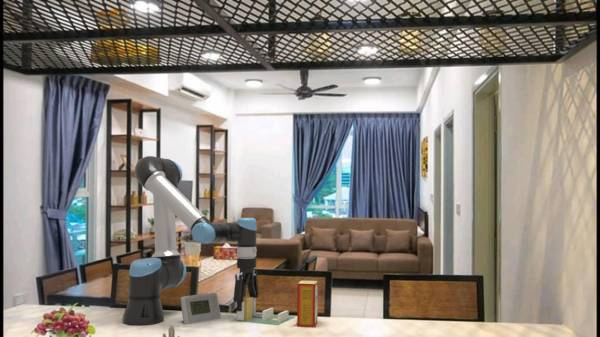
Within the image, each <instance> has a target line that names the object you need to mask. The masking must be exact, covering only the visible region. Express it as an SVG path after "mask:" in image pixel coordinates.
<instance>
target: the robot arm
mask: <svg viewBox="0 0 600 337" xmlns="http://www.w3.org/2000/svg"><path fill="white" fill-rule="evenodd" d="M134 176H135V178H136V181H137V182H138V183H139V184H140V185H141V187H143V188H144V189H145V190H146V191H148V192H149V193H151V194H152V199H153V225H154V226H153V228H154V253H153V254H152V255H151V257H146V258H139V259H135V260H133V261H131V262H130V266H129V270H128V271H129V272H128V274H129V278H128V299H127V300H128V301H127V305H126V306H125V310H124V313H123V315H122V323H123V324H125V325H130V326H131V325H133V326H134V325H135V326H144V325H145V326H146V325H153V324H154V325H155V324H158V323H162V322H164V321H165V313H164V310H163V305H162V302H161V290H165V289H173V288H174V287H177V286H179V285H180V284H181V283H183V282H184V280H185V278H186V276H187V267H186V266H187V265H186V264H185V262H184V261H183V260H182V258H181V253H180V252H179V251H178V250H177V238H176V237H177V234H176V233H177V232H176V231H177V230H176V218H177V219H179V220H180V222H182V223H183V224H184V225H185V227H186V228H188V230H190V232H191V236H192V240H194V241H195V242H196V243H197V244H204V245H207V244H212V243H236V246H237V247H236V257H237V259H236V268H237V269H239V272H238V274H237V273H236V274H235V275H234V291H233V302H234V303H236V318H237V320H244V302H243V298H244V297H245V292H246V288H247V289H248V293H249V294H248V295H249V297H253V304H252V315H255V312H257V311H256V303H257V302H256V298H259V283H258V270H254V269H255V268H256V267H257V258H256V257H257V251H258V250H257V230H258V227H257V220H256V218H255V217H238V218H237V220H236V222H221V221H220V222H212V221H210V219H209V218H208V217H206V216H205V214H204V213H203V212H201V210H199V209H198V208H197V207H196V206H195V205H194V204H193V203H192V201H190V199H188V198H187V196H185V195H184V194H183V193H182V192H181V191H180V190H179V189H178V188H179V187H178V185H179V184H180V183H181V181H182V178H183V170H182V168H181V165H179V163H177V162H176V161H175V160H172V159H170V158H163V157H158V156H154V155H153V156H152V155H148V156H144V157H142V158H141V159H139V160H138V161H137V163H136V165H135V167H134Z"/></svg>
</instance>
